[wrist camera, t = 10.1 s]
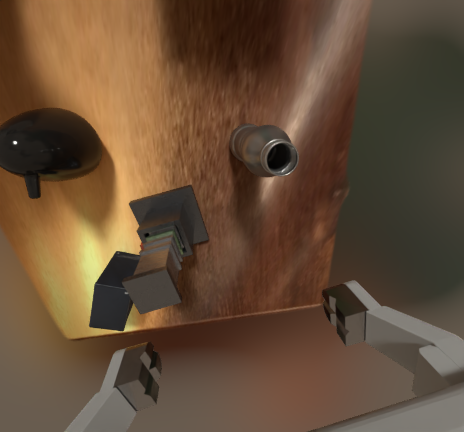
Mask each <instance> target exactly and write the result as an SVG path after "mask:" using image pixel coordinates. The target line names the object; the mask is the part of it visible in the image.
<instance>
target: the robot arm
mask: <svg viewBox="0 0 464 432" xmlns="http://www.w3.org/2000/svg"><path fill="white" fill-rule="evenodd" d="M322 296H323V298H324V299H325V300H324V302H323V308H324V311H325V314H326V316H327V318H328V320H329V321H330V323H331V324H332V325H334V326H336V327H337V334H338V335H339V337H340V338H341V340H342V341H343V343H344V344H345V346H349V345H353V344H356V343H360V342H364V341H365V342H366V343H367V344H369V345H370V346H372V347H373V348H375V349H377V350H378V351H380V352H381V353H383V354H384V355H386V356H387V357H389V358H391V359H392V360H393V361H395V362H397V363H398V364H400V365H401V366H403V367H404V368H406V369H407V370H409V371H411V372H412V373H413V374H414V380H413V386H412V391H413V393H414V394H415V395H416V396H417V397H415V398H412V399H409V400H406V401H402V402H399V403H396V404H393V405H390V406H387V407H384V408H380V409H377V410H374V411H371V412H368V413H365V414H361V415H358V416H355V417H352V418H349V419H346V420H343V421H340V422H336V423H333V424H330V425H327V426H324V427H321V428H318V429H315V430H311V431H308V432H464V341H463V340H462V339H461V338H460V337H458V336H457V335H455V334H452V333H450V332H447V331H445V330H443V329H440V328H438V327H435V326H433V325H430V324H428V323H426V322H423V321H421V320H418V319H416V318H413V317H411V316H408V315H406V314H404V313H401V312H399V311H396V310H394V309H391V308H389V307H386V306H383V307H381V306H380V305H379V304H378V303H377V302H376V301H375V300H374V299H373V298H372V297H371V296H370V295H369V294H368V293H367V292H366V291H365V290H364V289H363V288H362V287H361V286H360V285H359V284H358V283H357V282H356V281H354V280H353V281H350V282H347V283H343V284H340V285H336V286H333V287H330V288H327V289H324V290H322ZM153 349H154V346H153V344H152V343H151V342H147V343H143V344H139V345H136V346H132V347H129V348H125V349H121V350H118V351H116V352H115V353H114V354H113V357H112V360H111V363H110V365H109V368H108V370H107V373H106V376H105V379H104V381H103V384H102V387H101V389H100V392H99V393H96V394H95V395H94V396H93V398H92V399H91V400H90V401H89V402H88V404H87V405H86V406H85V407H84V409H83V410H82V411H81V412H80V413H79V415H78V416H77V417H76V418H75V419H74V421H73V422H72V423H71V424H70V425H69V427H68V428H67V429H66V430H65V432H126V431H127V429H128V428H129V426H130V424H131V422H132V420H133V419H134V417H135V415H136V413H137V412H136V411H139V410H142V409H145V408H148V407H151V406H154V405H156V404H157V398H158V391H159V386H158V384H157V381H158V379H159V377H160V376H161V370H162V365H161V358H160V356H159V354H158V352H155V351H153Z"/></svg>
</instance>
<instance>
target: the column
mask: <svg viewBox="0 0 464 432" xmlns="http://www.w3.org/2000/svg"><path fill="white" fill-rule="evenodd" d="M149 235H150V236H147V237H146V241H147V242H146V243H143V247H144V250H141V251H140V252H139V253H140V255H141V258H140V260H139V263H138V265H137V268H136V270H135V272H134V275H132V276H129V277H126V278H124V279H123V281H122V284H123V286H124V287H125V289H126V291H127V292H128V294H129V296H130V297H131V299H132V301H133V303H134V304H135V306H136V308H137V309H138V311H139V313H140V314H144V313H147V312H150V311H154V310H157V309H161V308H164V307H168V306H171V305H174V304H178V303H181V302H182V296H181V294H180V292H179V290H178V288H177V282H178V274H179V270H181V269H182V265H181V263H180V262H181V261H183V258H182V254H184V251H183V249H182V248H184V244H183V241H182V238H181V236H180V233H179V231H178V228H177V226H176V225H174V226H170V227H167V228H163V229H160V230H156V231H153V232H149Z"/></svg>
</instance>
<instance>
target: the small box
mask: <svg viewBox="0 0 464 432" xmlns="http://www.w3.org/2000/svg"><path fill="white" fill-rule="evenodd" d="M140 258H141V256H140V255H135V254H130V253H126V252H119V251H116V253H115V254H114V256H113V257H112V259H111V260H110V262H109V263H108V265H107V267H106V268H105V270H104V271H103V273H102V274H101V276H100V277H99V279H98V280H97V282H96V283H95V286H94V294H93V302H92V310H91V317H90V324H89V327H93V328H101V329H109V330H117V331H124V328H125V325H126V321H127V319H128V316H129V313H130V311H131V308H132V305H133V301H132V299H131V297H130V296H129V294H128V292H127V291H126V289H125V287H124V286H123V284H122V281H123V279H124V278H126V277H129V276H132V275H134V272H135V270H136V268H137V265H138V263H139V260H140Z"/></svg>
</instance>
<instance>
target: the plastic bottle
mask: <svg viewBox="0 0 464 432" xmlns="http://www.w3.org/2000/svg"><path fill="white" fill-rule="evenodd" d="M229 144H230V149H231V152H232V154H233V155H234V156H235V157H236V158H237V159H238V160H240V161H242V162H244V164H245V166H246V167H247V168H248V170H249V171H250V172H252V173H253V174H255V175H256V176H260V177H273V176H286V175H288V174H290V173H292V172H293V171H294V170H295V168H296V167H297V164H298V161H299V154H298V151H297V149H296V147H295V146H294V145H293V144H292V143H291V140H290V138H289V137H288V135H287V134H286V133H285V132H284V131H283V130H282V129H280V128H279V127H277V126H274V125H262V126H259V127H258V126H256V125H254V124H242V125H240V126H238V127H237V128H236V129H235V130H234V131H233V132H232V134H231V137H230V142H229Z"/></svg>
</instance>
